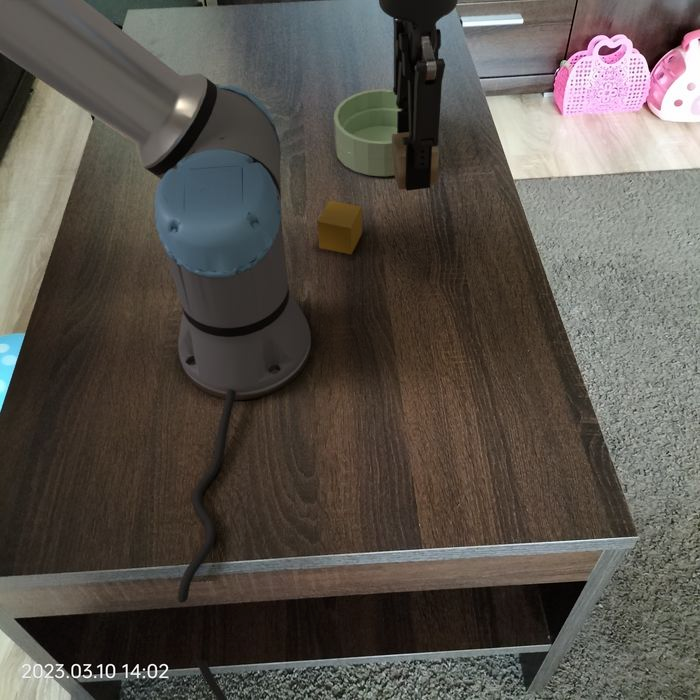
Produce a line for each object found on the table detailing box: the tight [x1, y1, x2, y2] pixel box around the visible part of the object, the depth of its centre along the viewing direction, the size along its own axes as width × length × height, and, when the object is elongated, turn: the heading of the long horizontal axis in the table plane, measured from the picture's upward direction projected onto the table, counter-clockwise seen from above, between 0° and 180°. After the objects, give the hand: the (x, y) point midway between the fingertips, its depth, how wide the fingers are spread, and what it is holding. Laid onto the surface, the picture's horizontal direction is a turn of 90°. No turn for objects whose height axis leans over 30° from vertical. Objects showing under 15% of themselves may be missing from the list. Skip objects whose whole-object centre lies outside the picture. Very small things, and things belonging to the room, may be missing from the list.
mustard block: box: [316, 200, 363, 256], centre depth 95 cm, size 4×4×4 cm
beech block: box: [392, 132, 440, 191], centre depth 83 cm, size 4×4×4 cm
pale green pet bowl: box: [333, 88, 401, 177], centre depth 108 cm, size 14×14×6 cm
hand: (413, 173), depth 85 cm, fingers closed on beech block, 4 cm apart
